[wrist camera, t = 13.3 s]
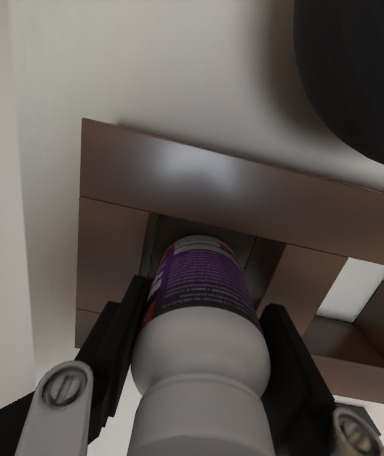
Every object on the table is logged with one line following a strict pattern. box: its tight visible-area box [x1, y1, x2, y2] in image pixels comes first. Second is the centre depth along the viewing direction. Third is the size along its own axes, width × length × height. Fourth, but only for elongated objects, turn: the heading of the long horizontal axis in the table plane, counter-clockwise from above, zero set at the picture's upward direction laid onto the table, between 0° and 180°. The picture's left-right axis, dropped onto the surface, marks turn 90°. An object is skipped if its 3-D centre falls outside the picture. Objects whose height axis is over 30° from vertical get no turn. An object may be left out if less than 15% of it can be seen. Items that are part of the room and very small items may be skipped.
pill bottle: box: [127, 235, 275, 456], centre depth 10 cm, size 5×5×10 cm
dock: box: [75, 118, 384, 404], centre depth 14 cm, size 14×25×4 cm, turn 77°
